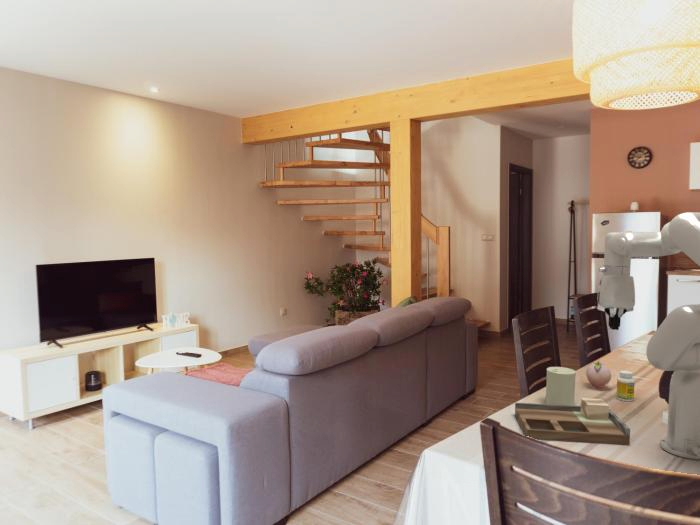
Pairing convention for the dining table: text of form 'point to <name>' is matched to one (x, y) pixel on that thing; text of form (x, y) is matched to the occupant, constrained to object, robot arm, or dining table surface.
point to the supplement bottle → (625, 386)
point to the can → (560, 386)
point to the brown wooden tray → (569, 424)
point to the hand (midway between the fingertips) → (614, 328)
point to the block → (594, 409)
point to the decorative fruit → (598, 375)
